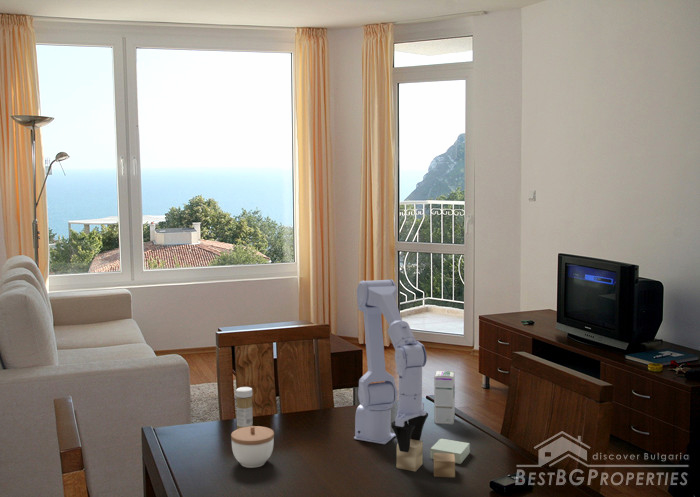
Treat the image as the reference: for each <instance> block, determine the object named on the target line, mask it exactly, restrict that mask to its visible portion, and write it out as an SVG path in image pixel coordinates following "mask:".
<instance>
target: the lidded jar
mask: <svg viewBox="0 0 700 497" xmlns="http://www.w3.org/2000/svg"><path fill="white" fill-rule="evenodd" d="M274 438H275V432H274V430H273V429H272V428H269V427H267V426H260V425H257V426H255V425H252V426H249V427H243V428H239V429H237V428H236V429H235V430H234V431H232V432H231V433H230V439H231V450H232V453H233V457H234V458H235V459H236V461H237V462H239V464H240V465H241V467H244V468H247V469H253V468H260V467H262V466H265V464H266V462H267V461H268V460H269V458H271V456H272V453H273V450H274V443H275V442H274V441H275V440H274Z"/></svg>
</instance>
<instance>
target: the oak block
mask: <svg viewBox="0 0 700 497" xmlns="http://www.w3.org/2000/svg"><path fill="white" fill-rule="evenodd" d="M433 477H435V478H437V477H439V478H456V463H455V457H454V454H447V453H434V459H433Z"/></svg>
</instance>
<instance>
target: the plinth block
mask: <svg viewBox="0 0 700 497" xmlns="http://www.w3.org/2000/svg"><path fill="white" fill-rule="evenodd" d="M470 446H471V444H470V442H465V441H458V440H451V439H446V438H439V439H438V440H437V442H436V443H435V444H433V445H432V446H431V447H430V459H431V460H434V453H447V454H454V457H455V464H459V465H461V464H462V463H463V461H464V460H465V459H466V458H467V457H468V455H469V454H470V453H471V452H470V449H471V447H470Z"/></svg>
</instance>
